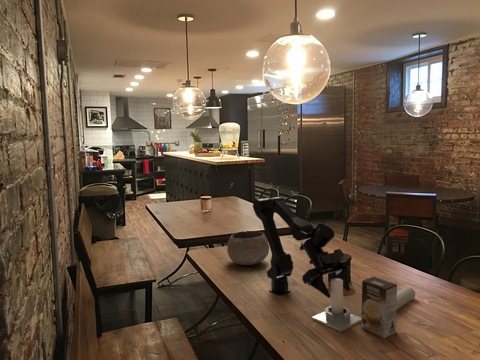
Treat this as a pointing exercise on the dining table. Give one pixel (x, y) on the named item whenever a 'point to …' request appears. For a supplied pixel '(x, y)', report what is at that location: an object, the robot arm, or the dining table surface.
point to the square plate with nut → (337, 319)
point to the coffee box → (379, 306)
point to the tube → (404, 296)
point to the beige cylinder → (337, 296)
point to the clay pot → (248, 247)
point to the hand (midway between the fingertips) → (339, 293)
